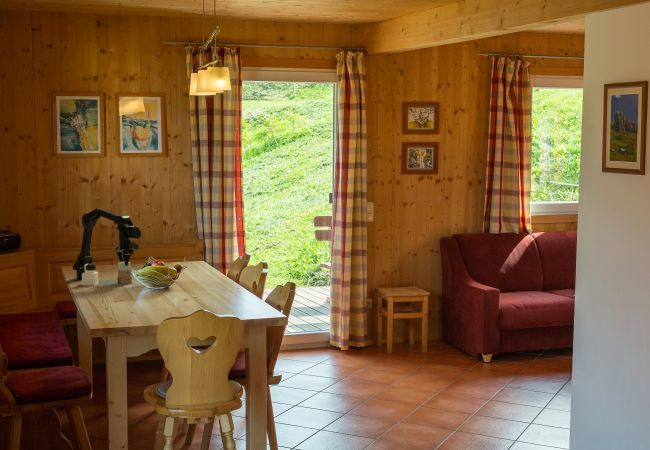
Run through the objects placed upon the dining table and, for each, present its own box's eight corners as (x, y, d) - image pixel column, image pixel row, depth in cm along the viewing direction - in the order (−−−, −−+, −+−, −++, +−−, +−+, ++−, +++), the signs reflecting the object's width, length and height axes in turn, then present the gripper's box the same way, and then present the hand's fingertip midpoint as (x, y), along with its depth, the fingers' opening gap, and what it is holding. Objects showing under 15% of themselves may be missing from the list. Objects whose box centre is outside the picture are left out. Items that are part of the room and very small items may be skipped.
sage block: (117, 269, 483) (117, 262, 483) (128, 268, 486) (128, 261, 486) (120, 270, 478) (120, 263, 478) (131, 269, 481) (131, 262, 481)
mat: (94, 281, 492) (94, 280, 492) (123, 279, 500) (123, 278, 500) (105, 287, 472) (105, 286, 472) (135, 284, 480) (135, 284, 480)
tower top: (118, 276, 484) (118, 269, 484) (128, 275, 486) (128, 268, 486) (120, 277, 479) (119, 270, 478) (130, 276, 481) (130, 269, 481)
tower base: (117, 283, 483) (117, 276, 483) (127, 282, 487) (127, 275, 487) (121, 284, 479) (121, 277, 478) (131, 283, 482) (131, 276, 482)
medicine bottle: (98, 284, 482) (98, 263, 481) (94, 286, 475) (93, 265, 474) (86, 283, 483) (86, 263, 482) (81, 286, 476) (81, 264, 475)
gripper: (142, 238, 476) (143, 266, 478) (133, 235, 493) (133, 262, 494) (123, 239, 471) (123, 267, 472) (114, 236, 487) (114, 263, 489)
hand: (124, 265), depth 482 cm, fingers open, 9 cm apart
